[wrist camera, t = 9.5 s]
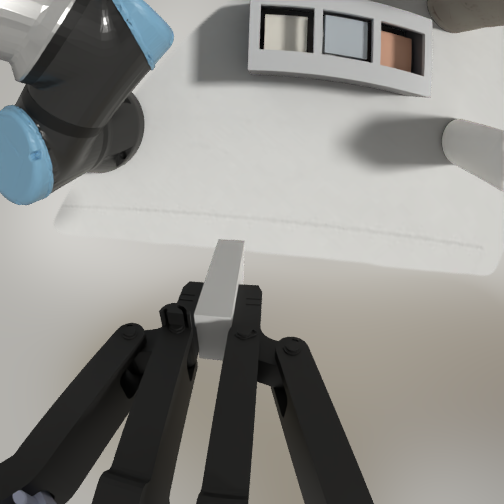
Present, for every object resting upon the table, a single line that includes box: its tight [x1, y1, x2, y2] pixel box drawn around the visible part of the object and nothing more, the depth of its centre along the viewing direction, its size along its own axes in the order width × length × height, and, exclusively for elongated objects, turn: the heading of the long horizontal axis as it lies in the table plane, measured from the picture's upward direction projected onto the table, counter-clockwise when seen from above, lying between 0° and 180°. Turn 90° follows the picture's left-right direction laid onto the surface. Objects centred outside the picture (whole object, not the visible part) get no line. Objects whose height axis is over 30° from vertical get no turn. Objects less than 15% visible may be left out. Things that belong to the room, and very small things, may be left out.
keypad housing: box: [248, 0, 433, 98], centre depth 30 cm, size 24×12×8 cm, turn 88°
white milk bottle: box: [442, 119, 504, 191], centre depth 30 cm, size 8×8×18 cm
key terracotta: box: [380, 31, 412, 73], centre depth 31 cm, size 6×6×4 cm
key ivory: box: [264, 14, 308, 53], centre depth 32 cm, size 6×6×4 cm
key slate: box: [323, 15, 368, 60], centre depth 29 cm, size 6×6×4 cm
